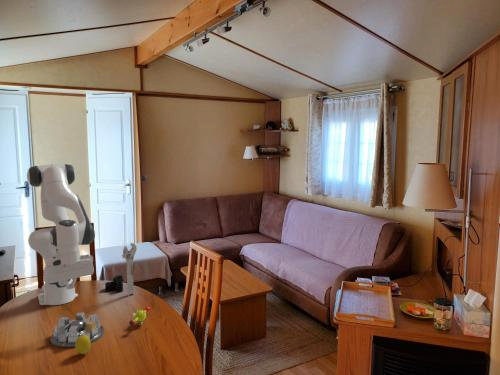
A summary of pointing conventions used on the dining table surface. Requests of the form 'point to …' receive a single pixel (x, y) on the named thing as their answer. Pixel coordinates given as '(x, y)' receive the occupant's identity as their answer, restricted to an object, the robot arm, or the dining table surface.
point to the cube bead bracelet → (76, 328)
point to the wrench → (129, 266)
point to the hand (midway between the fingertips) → (70, 288)
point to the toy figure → (139, 316)
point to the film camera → (115, 284)
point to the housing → (80, 328)
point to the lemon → (82, 344)
